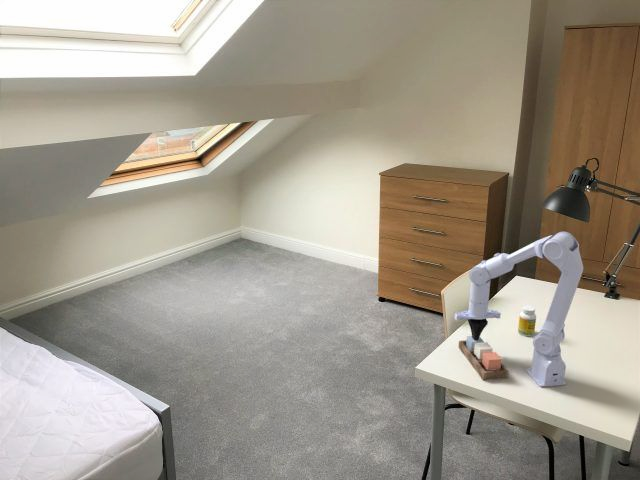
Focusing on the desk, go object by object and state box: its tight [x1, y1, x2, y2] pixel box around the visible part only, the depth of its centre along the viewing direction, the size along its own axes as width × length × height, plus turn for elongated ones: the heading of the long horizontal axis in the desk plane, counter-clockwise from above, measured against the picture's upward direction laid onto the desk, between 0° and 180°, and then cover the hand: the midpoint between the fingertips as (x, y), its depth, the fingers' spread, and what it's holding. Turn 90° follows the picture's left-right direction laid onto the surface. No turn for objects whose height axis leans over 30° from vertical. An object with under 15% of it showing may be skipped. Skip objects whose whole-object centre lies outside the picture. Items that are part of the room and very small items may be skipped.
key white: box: [474, 341, 493, 360], centre depth 165 cm, size 4×4×4 cm
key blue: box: [466, 335, 485, 350], centre depth 171 cm, size 4×4×4 cm
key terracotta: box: [481, 351, 503, 371], centre depth 159 cm, size 4×4×4 cm
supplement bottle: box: [517, 305, 537, 337], centre depth 183 cm, size 5×5×10 cm
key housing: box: [458, 339, 510, 381], centre depth 166 cm, size 19×8×2 cm, turn 7°
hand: (475, 338), depth 171 cm, fingers closed, pressing on key blue
